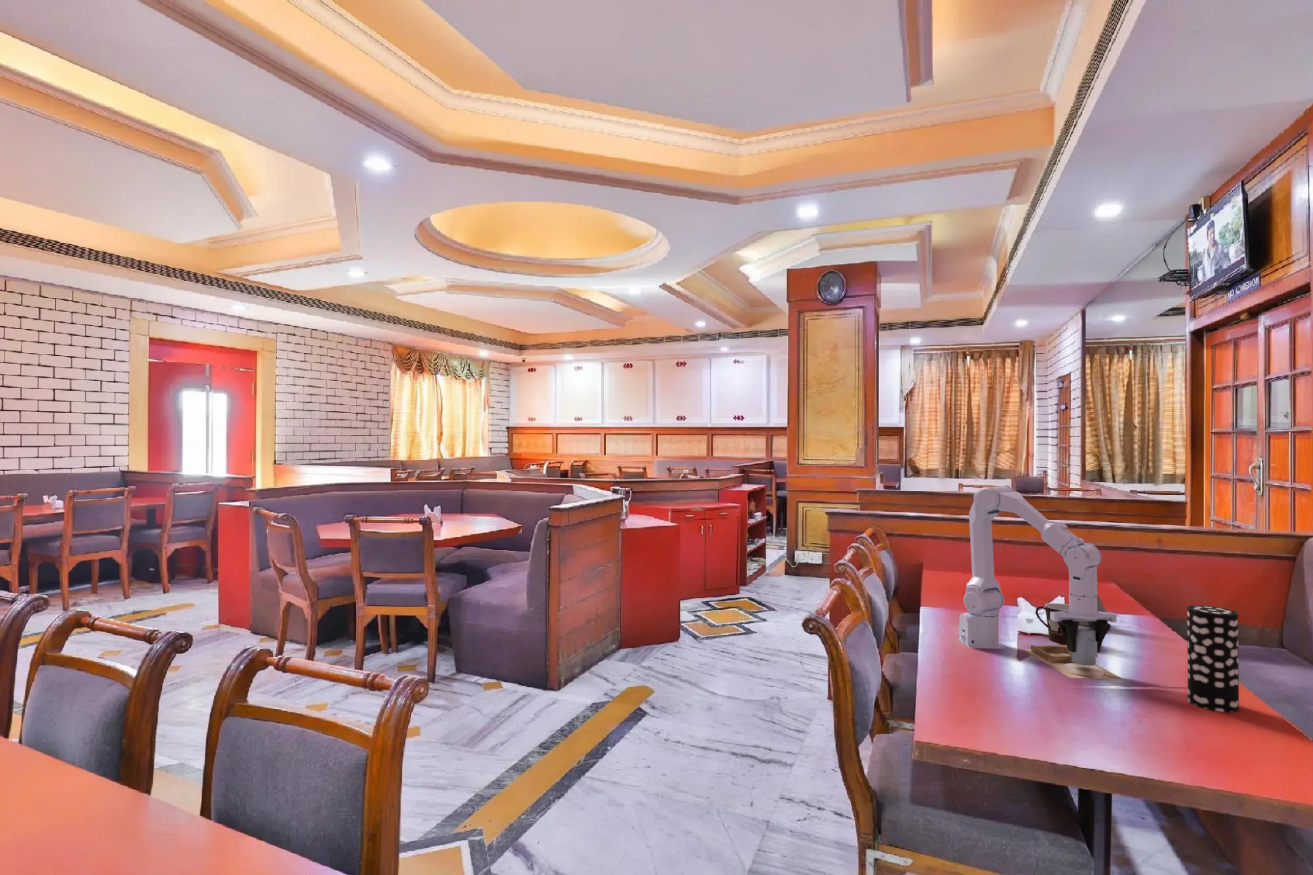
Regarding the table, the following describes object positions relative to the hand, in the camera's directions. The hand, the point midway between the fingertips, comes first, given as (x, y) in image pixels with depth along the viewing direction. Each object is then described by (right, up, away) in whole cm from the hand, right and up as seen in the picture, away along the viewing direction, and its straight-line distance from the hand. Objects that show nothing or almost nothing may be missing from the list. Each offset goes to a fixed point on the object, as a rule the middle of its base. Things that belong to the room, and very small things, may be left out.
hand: (1083, 651), depth 161 cm
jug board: (0, -5, +6) cm, 8 cm away
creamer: (0, -3, 0) cm, 3 cm away
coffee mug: (+10, -6, +26) cm, 29 cm away
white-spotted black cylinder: (+15, -5, -19) cm, 25 cm away
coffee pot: (+26, -6, +38) cm, 47 cm away
